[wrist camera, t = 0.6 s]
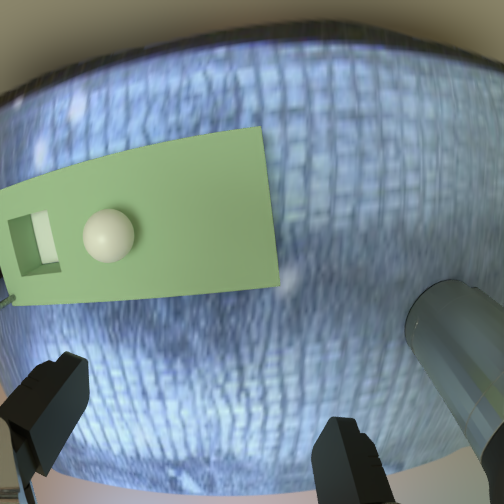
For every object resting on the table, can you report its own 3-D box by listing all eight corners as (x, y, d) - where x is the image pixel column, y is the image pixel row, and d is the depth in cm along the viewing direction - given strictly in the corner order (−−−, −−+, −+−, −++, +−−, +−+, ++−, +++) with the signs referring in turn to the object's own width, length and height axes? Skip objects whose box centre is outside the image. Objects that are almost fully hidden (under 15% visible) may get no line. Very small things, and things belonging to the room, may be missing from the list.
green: (261, 130, 25) (260, 126, 22) (278, 268, 29) (280, 286, 25) (8, 190, 27) (-16, 196, 24) (32, 292, 31) (12, 306, 27)
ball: (136, 200, 23) (114, 209, 20) (146, 251, 24) (126, 267, 21) (93, 209, 24) (67, 219, 20) (104, 256, 25) (80, 272, 21)
